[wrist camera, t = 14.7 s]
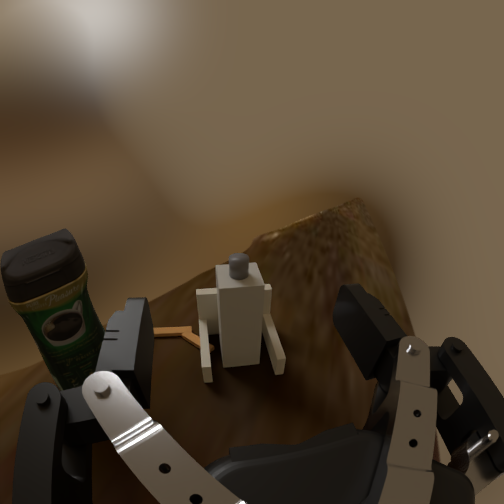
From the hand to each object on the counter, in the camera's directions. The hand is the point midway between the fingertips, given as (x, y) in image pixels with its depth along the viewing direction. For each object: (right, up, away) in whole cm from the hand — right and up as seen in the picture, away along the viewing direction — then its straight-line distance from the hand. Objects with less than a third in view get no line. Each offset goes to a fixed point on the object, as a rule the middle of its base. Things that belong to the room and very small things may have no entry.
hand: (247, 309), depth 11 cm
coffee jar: (-21, -13, +18) cm, 30 cm away
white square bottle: (-2, -11, +24) cm, 26 cm away
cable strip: (-10, -10, +25) cm, 28 cm away
